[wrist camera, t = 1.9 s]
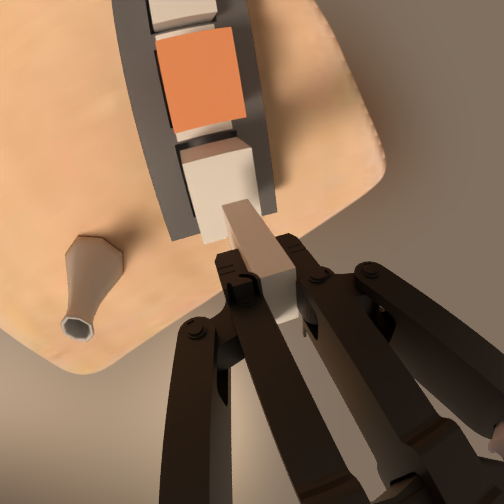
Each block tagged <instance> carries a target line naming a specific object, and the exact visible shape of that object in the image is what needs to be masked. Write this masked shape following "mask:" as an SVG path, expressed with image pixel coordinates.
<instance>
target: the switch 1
mask: <svg viewBox="0 0 504 504" xmlns="http://www.w3.org/2000/svg"><path fill="white" fill-rule="evenodd" d="M149 5H150V11H151V17H152V23H153V28H154V32H155V34H156V33H160V32H164V31H168V30H173V29H177V28H182V27H187V26H192V25H198V24H204V23H210V22H211V21H212V19H213V18H214V16H215V15H216V13H217V12H218V11H217V6H216V0H149Z"/></svg>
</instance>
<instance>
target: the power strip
mask: <svg viewBox="0 0 504 504" xmlns="http://www.w3.org/2000/svg"><path fill="white" fill-rule="evenodd" d="M216 6H217V11H218V12H217V13H216V15H215V16H214V18H213V19H212V21H211V22H210V23H204V24H198V25H192V26H187V27H182V28H177V29H173V30H168V31H164V32H160V33H156V34H155V32H154V28H153V23H152V17H151V11H150V5H149V0H112V8H113V15H114V22H115V28H116V34H117V40H118V46H119V51H120V56H121V62H122V67H123V71H124V76H125V81H126V85H127V90H128V94H129V98H130V103H131V107H132V111H133V115H134V119H135V123H136V127H137V131H138V134H139V138H140V142H141V145H142V149H143V152H144V156H145V159H146V163H147V166H148V170H149V173H150V176H151V180H152V183H153V186H154V189H155V192H156V196H157V199H158V202H159V205H160V208H161V211H162V214H163V217H164V220H165V223H166V226H167V229H168V232H169V234H170V237H171V240H172V241H175V240H179V239H182V238H186V237H189V236H192V235H196V234H199V233H201V232H200V229H199V225H198V222H197V218H196V214H195V211H194V207H193V204H192V200H191V196H190V192H189V189H188V185H187V181H186V177H185V173H184V170H183V166H182V161H181V155H180V151H181V150H185V149H188V148H192V147H196V146H200V145H204V144H208V143H212V142H216V141H220V140H225V139H229V138H234V137H238V138H239V139H241V140H242V141H243V142H245V143H246V144H247V145H249V146H250V147H251V148H252V154H253V161H254V167H255V174H256V180H257V187H258V194H259V200H260V207H261V214H262V216H264V215H268V214H272V213H276V212H277V205H276V197H275V188H274V180H273V172H272V164H271V156H270V149H269V141H268V134H267V127H266V120H265V113H264V106H263V99H262V92H261V86H260V79H259V73H258V66H257V60H256V54H255V48H254V42H253V36H252V31H251V25H250V19H249V14H248V8H247V3H246V0H216ZM225 27H231V28H232V34H233V40H234V45H235V51H236V57H237V63H238V68H239V74H240V80H241V86H242V92H243V98H244V104H245V110H246V117H245V118H240V119H235V120H230V121H225V122H220V123H216V124H211V125H207V126H203V127H199V128H194V129H191V130H187V131H183V132H179V133H176V134H175V133H174V129H173V125H172V120H171V116H170V112H169V107H168V103H167V98H166V94H165V89H164V84H163V79H162V75H161V70H160V65H159V60H158V55H157V49H156V44H155V41H157V40H161V39H165V38H169V37H174V36H178V35H183V34H188V33H193V32H198V31H204V30H211V29H217V28H225Z"/></svg>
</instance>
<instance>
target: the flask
mask: <svg viewBox="0 0 504 504" xmlns="http://www.w3.org/2000/svg"><path fill="white" fill-rule="evenodd" d="M65 257H66V269H67V280H68V292H69V298H68V310H67V314H66V315H65V317H64V318H63V320H62V321H61V327H62V330H63V333H64V334H65V335H67V336H68V337H70V338H72V339H74V340H76V341H87V342H88V341H89V340H90V339H91V338H92V336H93V335H94V328H93V319H94V316H95V314H96V311H97V309H98V307H99V305H100V303H101V302H102V301H103V299H104V298H105V296H106V295H107V294H108V292H109V291H110V290H111V289H112V287H113V286H114V285H115V284H116V283H117V281H118V280H119V279H120V278H121V276H122V275H123V259H122V253H121V252H120V251H119V250H117V249H116V248H115V247H113V246H112V245H111V244H109V243H108V242H107V241H105V240H104V239H103V238H94V237H77V238H76V239H75V241H74V242H73V244H72V245H71V246H70V248H69V249H68V251H67V252H66V254H65Z"/></svg>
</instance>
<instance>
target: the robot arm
mask: <svg viewBox="0 0 504 504" xmlns="http://www.w3.org/2000/svg"><path fill="white" fill-rule="evenodd" d="M221 207H222V211H223V215H224V220H225V224H226V229H227V233H228V237H229V242H230V246H231V249H232V250H230V251H227V252H223V253H220V254H217V256H216V259H215V265H216V268H217V271H218V275H219V278H220V282H221V285H222V288H223V292H224V295H225V298H226V303H225V306H224V308H223V310H222V311H221V312H220V313H219V314H217V315H216V316H214V317H213V318H211V319H208V318H206V317H194V318H191V319H189V320H187V321H186V322H184V323H183V325H182V326H181V327H180V329H179V332H178V337H177V343H176V349H175V355H174V362H173V368H172V375H171V383H170V390H169V398H168V405H167V414H166V422H165V431H164V440H163V451H162V463H161V475H160V490H159V504H232V462H231V367H232V366H233V365H235V364H236V363H238V362H239V361H241V360H242V359H244V358H245V360H246V363H247V366H248V369H249V372H250V375H251V378H252V380H253V383H254V386H255V389H256V392H257V395H258V397H259V400H260V403H261V406H262V408H263V411H264V414H265V417H266V419H267V422H268V425H269V427H270V430H271V433H272V435H273V438H274V440H275V443H276V446H277V448H278V451H279V453H280V456H281V458H282V461H283V464H284V466H285V468H286V471H287V473H288V476H289V478H290V481H291V483H292V486H293V488H294V491H295V493H296V495H297V497H298V500H299V503H300V504H504V462H502V461H498V460H493V459H488V458H484V457H479V456H477V454H476V453H475V451H474V449H473V448H472V446H471V445H470V443H469V441H468V440H467V438H466V436H465V435H464V433H463V432H462V430H461V429H460V427H459V426H458V425H457V423H456V422H455V421H453V420H451V419H449V418H443V417H441V416H439V414H438V413H437V412H436V411H435V409H434V408H433V406H432V404H431V403H430V402H429V400H428V399H427V397H426V396H425V394H424V393H423V391H422V390H421V388H420V387H419V385H418V384H417V382H416V381H415V380H414V379H416V380H417V381H418V382H419V383H420V384H421V385H422V386H423V387H425V388H426V389H427V390H428V391H429V392H430V393H432V395H434V396H435V397H436V398H437V399H438V400H439V401H440V402H441V403H443V404H444V405H445V406H446V407H447V408H448V409H449V410H450V411H452V412H453V413H454V414H455V415H456V416H457V417H458V418H459V419H460V420H461V421H462V422H464V423H465V424H466V425H467V426H468V427H470V428H471V429H472V430H473V431H475V432H476V433H478V434H480V435H481V436H483V437H486V438H488V439H491V440H490V441H489V443H488V450H489V451H490V452H491V453H495V452H496V453H498V454H499V455H500V456H502V458H503V460H504V354H503V353H501V352H500V351H499V350H498V349H497V348H495V347H494V346H493V345H492V344H490V343H489V342H488V341H487V340H485V339H484V338H483V337H482V336H480V335H479V334H478V333H477V332H475V331H474V330H473V329H471V328H470V327H469V326H467V325H466V324H465V323H463V322H462V321H461V320H459V319H458V318H457V317H455V316H454V315H453V314H451V313H450V312H449V311H447V310H446V309H444V308H443V307H442V306H440V305H439V304H438V303H436V302H435V301H433V300H432V299H430V298H429V297H428V296H426V295H425V294H423V293H422V292H420V291H419V290H418V289H416V288H415V287H413V286H412V285H410V284H409V283H407V282H406V281H405V280H403V279H401V278H400V277H399V276H397V275H396V274H394V273H393V272H391V271H390V270H388V269H386V268H385V267H384V266H382V265H380V264H378V263H375V262H370V261H369V262H363V263H360V264H358V265H357V266H356V267H355V271H354V273H348V274H335V273H334V272H333V271H331V270H330V269H329V268H326V267H322V266H320V265H319V264H318V263H317V261H316V260H315V259H314V258H313V256H312V255H311V254H310V253H309V251H308V250H306V248H305V246H304V245H302V243H301V241H300V240H299V239H298V238H297V237H296V236H294V235H292V234H290V233H287V234H284V235H280V236H277V237H274V235H273V234H272V232H271V231H270V229H269V228H268V227H267V225H266V224H265V222H264V221H263V219H262V218H261V217H260V215H259V214H258V212H257V211H256V210H255V208H254V207H253V205H252V204H251V202H250V201H249V200H248V199H244V200H240V201H236V202H232V203H229V204H225V205H221ZM380 306H381V307H382V308H381V307H380ZM298 309H299V311H300V313H301V315H302V318H303V335H304V337H306V331H307V333H308V335H309V337H310V339H311V341H312V342H313V344H314V346H315V348H316V350H317V351H318V353H319V355H320V357H321V359H322V360H323V362H324V364H325V366H326V368H327V370H328V371H329V373H330V375H331V377H332V379H333V381H334V382H335V384H336V386H337V388H338V390H339V391H340V393H341V395H342V397H343V399H344V401H345V403H346V405H347V406H348V408H349V410H350V412H351V414H352V416H353V417H354V419H355V421H356V423H357V425H358V427H359V429H360V430H361V432H362V434H363V436H364V438H365V440H366V442H367V443H368V445H369V447H370V449H371V451H372V453H373V455H374V457H375V459H376V461H377V470H378V473H379V475H380V478H381V480H382V482H383V483H384V485H385V487H386V489H387V490H386V491H385V492H384V493H383V494H382V495H381V496H379V497H378V498H377V499H376V500H374V501H373V502H370V501H369V499H368V497H367V495H366V493H365V491H364V489H363V488H362V486H361V484H360V483H359V481H358V480H357V479H356V477H354V476H353V475H352V474H351V473H350V471H349V470H348V468H347V466H346V465H345V462H344V461H343V458H342V457H341V454H340V452H339V450H338V448H337V446H336V444H335V442H334V440H333V438H332V436H331V434H330V432H329V430H328V428H327V426H326V424H325V422H324V420H323V418H322V416H321V414H320V412H319V410H318V408H317V406H316V404H315V401H314V400H313V398H312V395H311V393H310V391H309V389H308V387H307V385H306V383H305V381H304V379H303V377H302V375H301V373H300V371H299V369H298V366H297V364H296V363H295V361H294V358H293V356H292V354H291V352H290V350H289V348H288V346H287V344H286V342H285V340H284V337H283V336H282V334H281V331H280V329H279V327H278V325H277V324H280V323H283V322H286V321H289V320H291V319H294V318H297V317H298Z"/></svg>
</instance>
